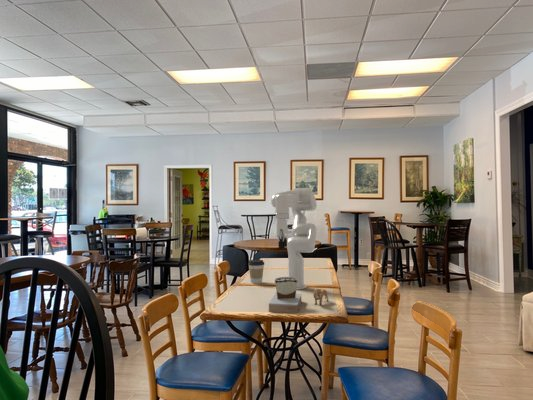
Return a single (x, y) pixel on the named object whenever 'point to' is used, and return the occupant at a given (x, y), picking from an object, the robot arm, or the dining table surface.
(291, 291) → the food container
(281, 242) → the robot arm
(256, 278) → the coffee cup
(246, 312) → the dining table surface
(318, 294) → the lion figurine
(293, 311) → the pedestal
